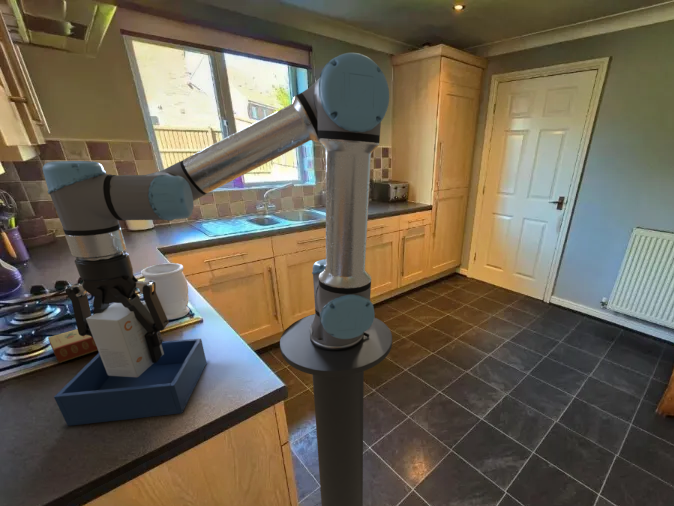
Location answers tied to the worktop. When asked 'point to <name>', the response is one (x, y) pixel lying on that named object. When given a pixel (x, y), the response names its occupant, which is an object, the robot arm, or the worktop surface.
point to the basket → (134, 387)
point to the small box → (121, 341)
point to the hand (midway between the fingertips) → (136, 360)
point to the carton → (71, 345)
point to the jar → (169, 288)
